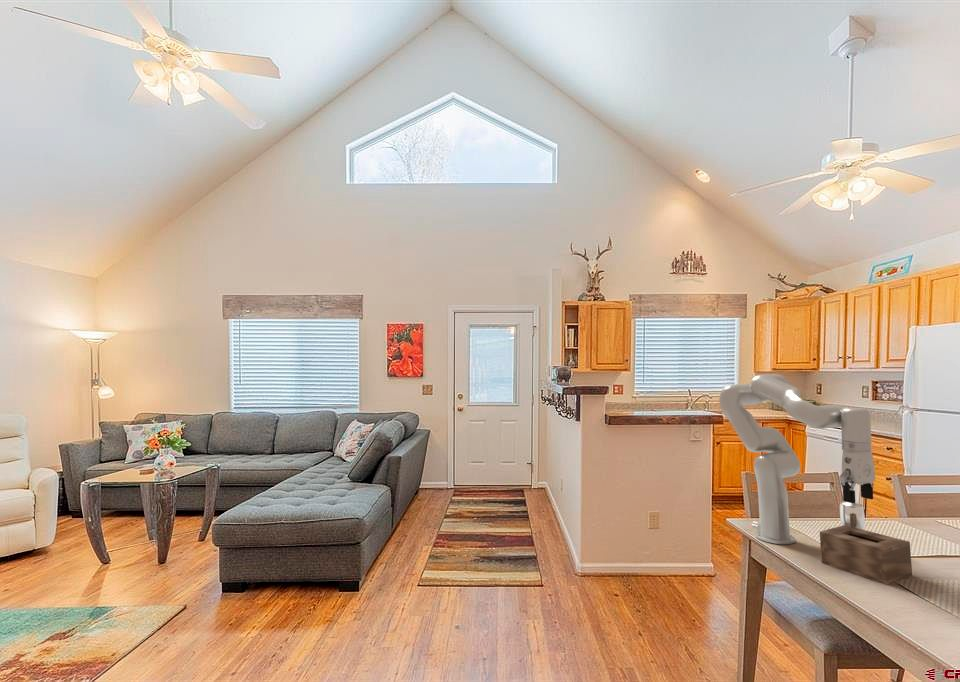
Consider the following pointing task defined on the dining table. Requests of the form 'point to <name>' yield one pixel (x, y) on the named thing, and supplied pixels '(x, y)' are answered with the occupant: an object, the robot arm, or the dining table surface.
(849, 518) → the beer glass
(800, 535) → the dining table surface
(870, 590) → the dining table surface
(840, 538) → the coin box
